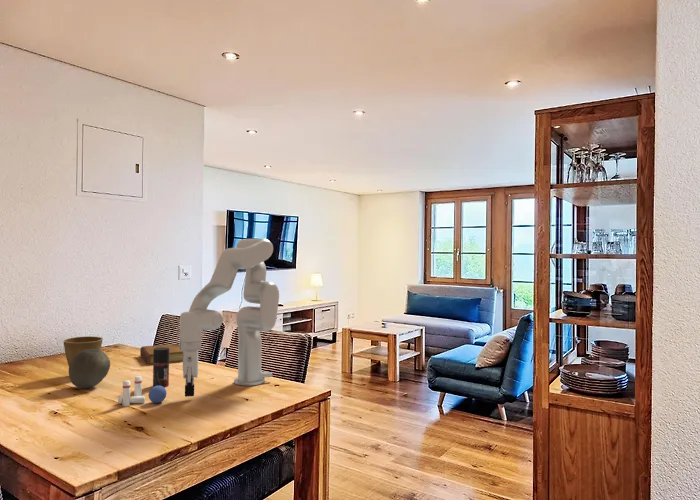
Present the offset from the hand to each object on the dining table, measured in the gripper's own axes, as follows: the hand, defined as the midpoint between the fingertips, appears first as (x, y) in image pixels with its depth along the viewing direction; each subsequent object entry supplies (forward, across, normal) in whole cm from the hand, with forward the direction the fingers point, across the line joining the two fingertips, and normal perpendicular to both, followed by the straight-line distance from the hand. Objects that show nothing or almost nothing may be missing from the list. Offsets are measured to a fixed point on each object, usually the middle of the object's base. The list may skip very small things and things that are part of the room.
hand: (189, 395), depth 178 cm
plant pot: (+2, +46, +46) cm, 65 cm away
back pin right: (+2, +4, +18) cm, 18 cm away
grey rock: (+2, +26, +39) cm, 47 cm away
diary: (+2, +76, +16) cm, 78 cm away
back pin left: (+2, -2, +21) cm, 21 cm away
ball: (-2, -1, +11) cm, 11 cm away
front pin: (0, 0, +15) cm, 15 cm away
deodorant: (+2, +22, +12) cm, 25 cm away
